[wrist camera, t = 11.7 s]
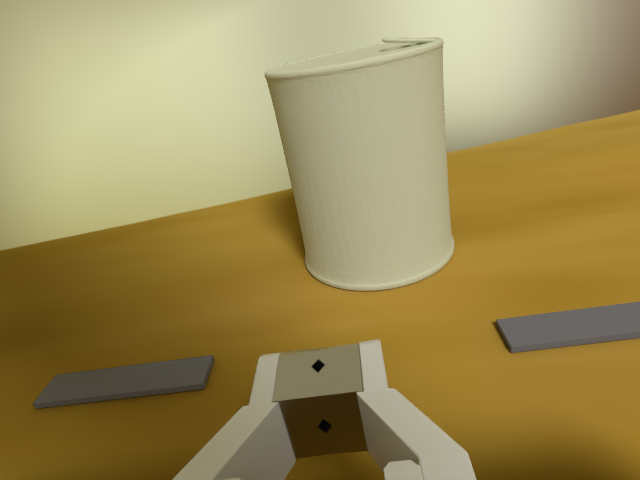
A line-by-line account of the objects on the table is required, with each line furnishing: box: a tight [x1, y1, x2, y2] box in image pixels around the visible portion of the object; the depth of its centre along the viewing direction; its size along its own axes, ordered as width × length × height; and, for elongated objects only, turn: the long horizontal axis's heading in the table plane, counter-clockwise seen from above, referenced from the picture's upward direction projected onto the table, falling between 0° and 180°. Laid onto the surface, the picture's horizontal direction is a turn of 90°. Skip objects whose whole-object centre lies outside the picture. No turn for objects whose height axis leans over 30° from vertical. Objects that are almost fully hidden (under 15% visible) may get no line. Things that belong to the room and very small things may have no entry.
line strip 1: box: [33, 355, 214, 409], centre depth 20 cm, size 8×2×1 cm, turn 88°
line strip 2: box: [496, 302, 640, 353], centre depth 18 cm, size 8×2×1 cm, turn 88°
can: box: [265, 37, 454, 291], centre depth 25 cm, size 9×9×12 cm
